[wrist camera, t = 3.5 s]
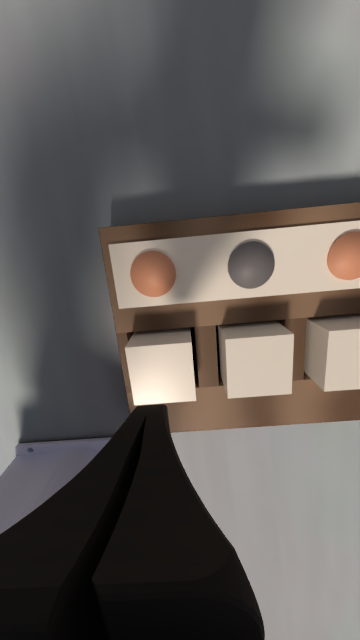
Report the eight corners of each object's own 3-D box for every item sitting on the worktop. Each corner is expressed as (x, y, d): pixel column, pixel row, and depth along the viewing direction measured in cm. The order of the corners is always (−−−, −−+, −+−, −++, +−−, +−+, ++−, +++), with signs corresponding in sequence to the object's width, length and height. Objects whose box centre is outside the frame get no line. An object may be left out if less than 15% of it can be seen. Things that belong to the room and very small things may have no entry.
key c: (301, 369, 18) (324, 391, 15) (304, 317, 17) (329, 331, 14) (356, 365, 18) (389, 386, 15) (362, 312, 17) (399, 325, 14)
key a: (141, 381, 18) (134, 405, 16) (134, 331, 17) (124, 347, 14) (194, 377, 18) (196, 400, 15) (189, 327, 17) (191, 342, 14)
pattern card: (119, 308, 16) (118, 309, 15) (109, 244, 15) (107, 244, 14) (385, 285, 15) (390, 286, 15) (395, 217, 14) (401, 216, 14)
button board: (139, 414, 21) (133, 435, 19) (110, 231, 17) (98, 228, 14) (350, 399, 20) (373, 418, 18) (373, 205, 16) (406, 197, 14)
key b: (220, 375, 18) (227, 398, 15) (218, 324, 17) (225, 339, 14) (274, 371, 18) (291, 394, 15) (275, 320, 17) (294, 334, 14)
